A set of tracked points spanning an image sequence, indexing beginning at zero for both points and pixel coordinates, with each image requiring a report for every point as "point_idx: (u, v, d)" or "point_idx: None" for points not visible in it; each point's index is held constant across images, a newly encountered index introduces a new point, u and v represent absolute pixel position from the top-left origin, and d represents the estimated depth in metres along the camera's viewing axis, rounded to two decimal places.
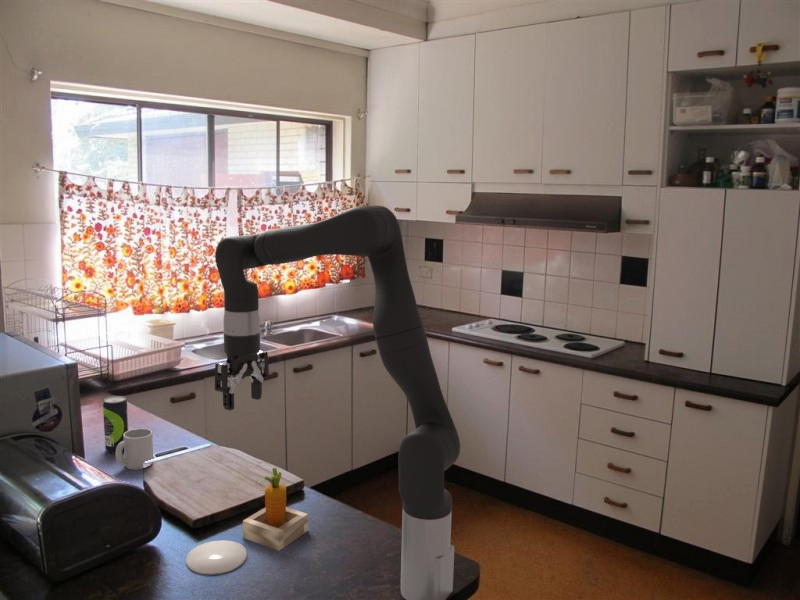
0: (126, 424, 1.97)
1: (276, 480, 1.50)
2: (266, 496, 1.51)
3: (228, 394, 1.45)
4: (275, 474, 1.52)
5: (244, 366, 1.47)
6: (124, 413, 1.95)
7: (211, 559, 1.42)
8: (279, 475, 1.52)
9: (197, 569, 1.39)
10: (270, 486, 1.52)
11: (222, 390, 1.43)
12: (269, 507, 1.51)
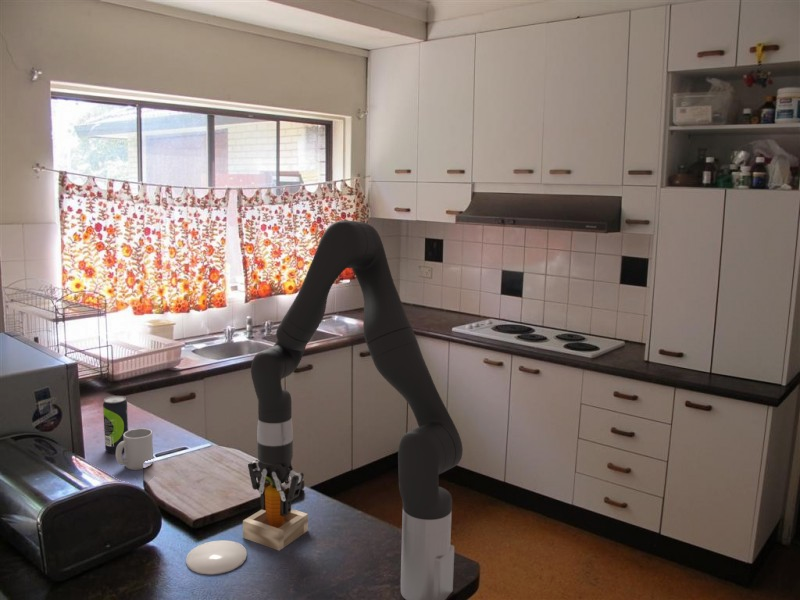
0: (126, 424, 1.97)
1: None
2: (266, 496, 1.51)
3: None
4: None
5: None
6: (124, 413, 1.95)
7: (211, 559, 1.42)
8: None
9: (197, 569, 1.39)
10: (270, 486, 1.52)
11: (298, 494, 1.51)
12: (269, 507, 1.51)
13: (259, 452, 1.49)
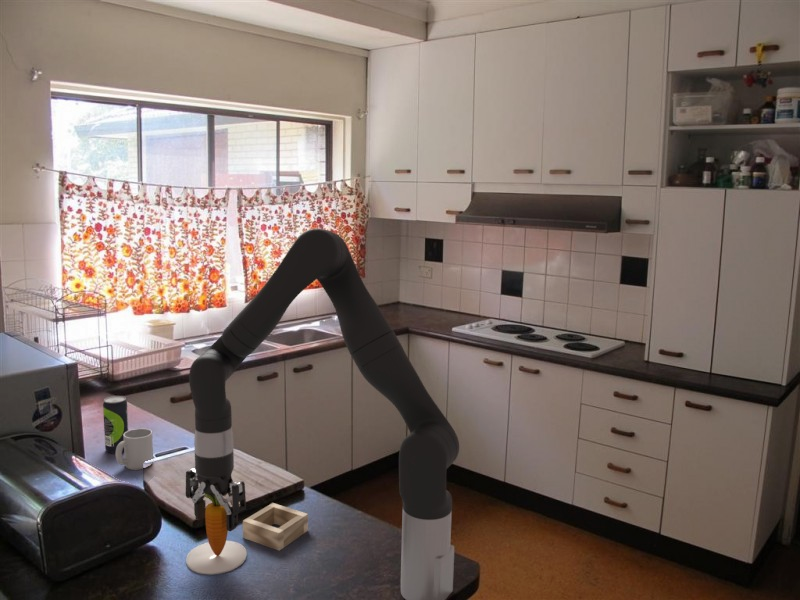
0: (126, 424, 1.97)
1: None
2: (206, 515, 1.41)
3: None
4: None
5: None
6: (124, 413, 1.95)
7: (211, 559, 1.42)
8: None
9: (197, 569, 1.39)
10: (211, 504, 1.42)
11: (245, 507, 1.39)
12: (209, 527, 1.41)
13: (196, 464, 1.38)
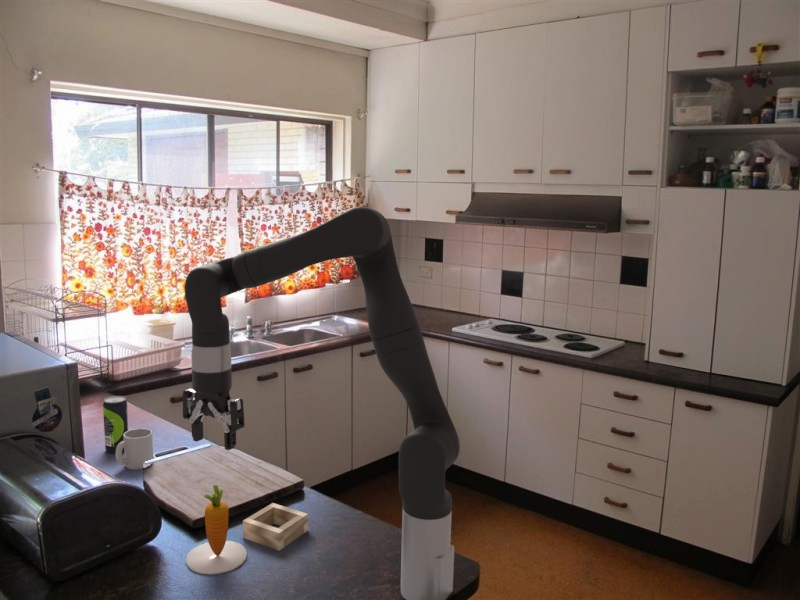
0: (126, 424, 1.97)
1: (216, 498, 1.40)
2: (206, 515, 1.41)
3: None
4: (216, 492, 1.42)
5: None
6: (124, 413, 1.95)
7: (211, 559, 1.42)
8: (220, 493, 1.41)
9: (197, 569, 1.39)
10: (211, 505, 1.42)
11: (243, 425, 1.36)
12: (209, 527, 1.41)
13: (193, 380, 1.35)
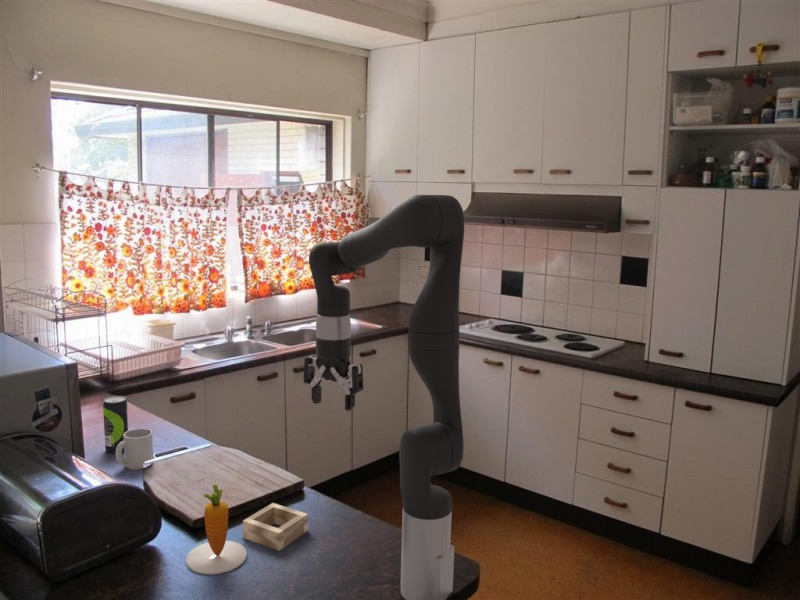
0: (126, 424, 1.97)
1: (216, 498, 1.40)
2: (206, 515, 1.41)
3: None
4: (216, 491, 1.42)
5: None
6: (124, 413, 1.95)
7: (211, 559, 1.42)
8: (220, 492, 1.42)
9: (197, 569, 1.39)
10: (210, 504, 1.42)
11: (362, 388, 1.51)
12: (209, 527, 1.41)
13: (318, 347, 1.49)
